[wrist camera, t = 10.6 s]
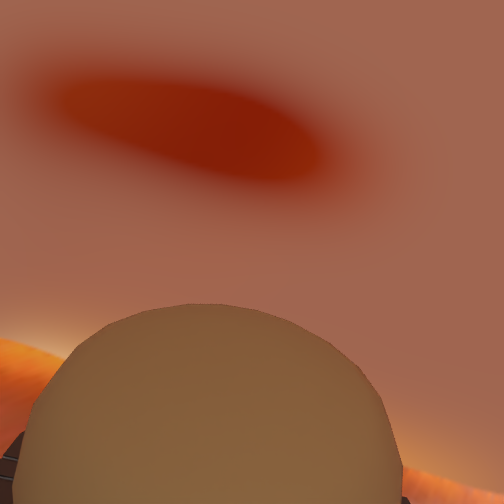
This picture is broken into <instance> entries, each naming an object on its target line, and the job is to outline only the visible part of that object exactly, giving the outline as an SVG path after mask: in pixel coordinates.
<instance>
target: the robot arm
mask: <svg viewBox="0 0 504 504" xmlns="http://www.w3.org/2000/svg"><path fill="white" fill-rule="evenodd" d="M24 433H25V431H24V432H22V433H21V434H19V436H18V437H17V438H16V439H15V441H14V442H13V443H12V444H11V446H10V447H9V448H8V449H7V451H6V452H5V453H4V454H3V457H2V459H0V504H13V492H12V485H13V481H14V476H15V472H16V467H17V463H18V459H19V454H20V450H21V445H22V441H23V436H24ZM401 504H410V502H409V500H408V499H407V497H402V500H401Z"/></svg>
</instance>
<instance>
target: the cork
mask: <svg viewBox="0 0 504 504" xmlns="http://www.w3.org/2000/svg"><path fill="white" fill-rule="evenodd" d="M402 477H403V465H402V462H401V458H400V455H399V452H398V448H397V445H396V442H395V438H394V435H393V431H392V428H391V425H390V422H389V419H388V416H387V414H386V411H385V408H384V405H383V402H382V399H381V397H380V396H379V395H378V393H377V392H376V390H375V389H374V388H373V386H372V385H371V383H370V382H369V381H368V379H367V378H366V376H365V375H364V374H363V372H362V371H361V369H360V368H359V367H358V366H357V365H355V364H354V363H353V362H352V361H350V360H349V359H348V358H347V357H346V356H345V355H343V354H342V353H341V352H340V351H339V350H337V349H336V348H335V347H334V346H333V345H331V344H330V343H328V342H327V341H325V340H323V339H322V338H320V337H318V336H316V335H315V334H313V333H311V332H309V331H307V330H305V329H303V328H302V327H299V326H298V325H296V324H294V323H292V322H290V321H287V320H285V319H281V318H278V317H276V316H273V315H270V314H267V313H264V312H261V311H258V310H252V309H246V308H240V307H235V306H229V305H221V304H219V305H217V304H186V305H180V306H173V307H167V308H160V309H154V310H149V311H144V312H141V313H138V314H136V315H133V316H130V317H127V318H125V319H122V320H119V321H117V322H114V323H111V324H109V325H107V326H105V327H104V328H102V329H101V330H100V331H98V332H97V333H95V334H94V335H92V336H91V337H90V338H88V339H87V340H85V341H84V342H82V343H81V344H80V345H78V346H77V347H76V349H75V350H74V351H73V352H72V353H71V354H70V356H69V357H68V358H67V359H66V361H65V362H64V363H63V364H62V365H61V367H60V368H59V369H58V371H57V372H56V373H55V375H54V376H53V378H52V379H51V380H50V382H49V383H48V384H47V386H46V387H45V389H44V390H43V391H42V393H41V394H40V396H39V397H38V398H37V400H36V401H35V403H34V404H33V407H32V410H31V414H30V417H29V420H28V423H27V426H26V430H25V433H24V436H23V441H22V445H21V450H20V454H19V459H18V463H17V467H16V472H15V476H14V481H13V485H12V492H13V504H401V500H402Z"/></svg>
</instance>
